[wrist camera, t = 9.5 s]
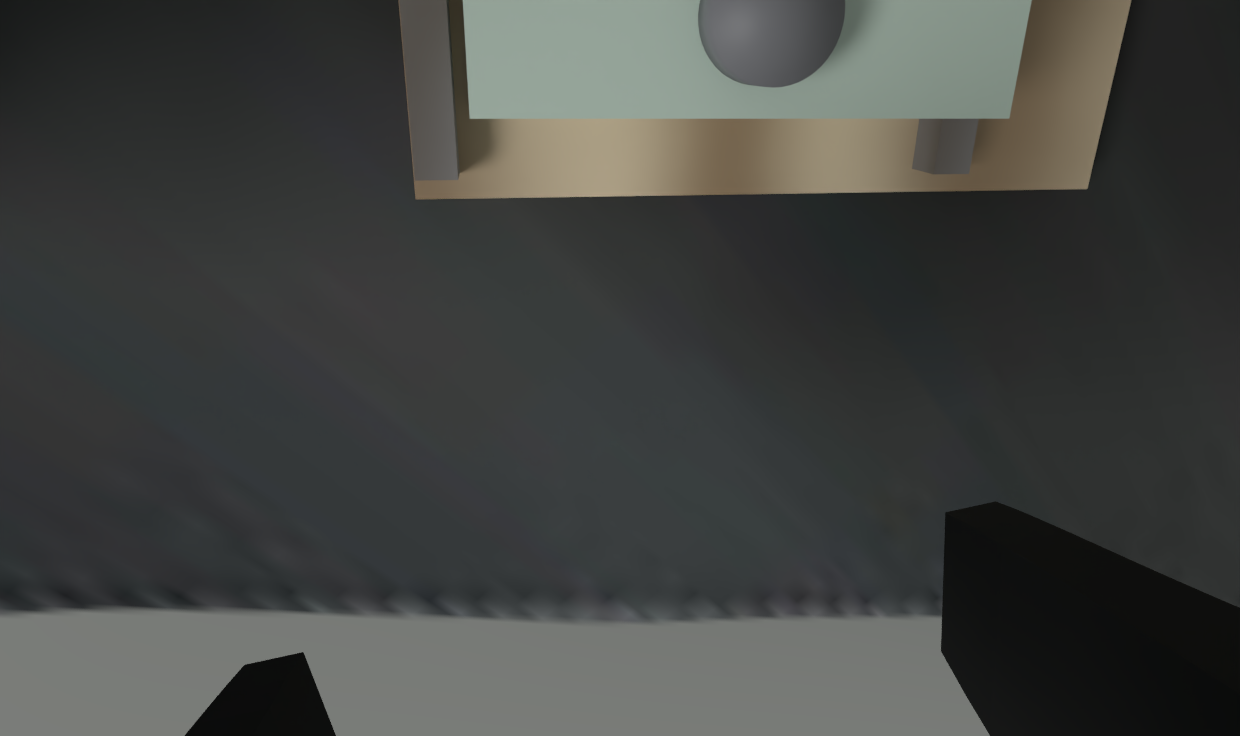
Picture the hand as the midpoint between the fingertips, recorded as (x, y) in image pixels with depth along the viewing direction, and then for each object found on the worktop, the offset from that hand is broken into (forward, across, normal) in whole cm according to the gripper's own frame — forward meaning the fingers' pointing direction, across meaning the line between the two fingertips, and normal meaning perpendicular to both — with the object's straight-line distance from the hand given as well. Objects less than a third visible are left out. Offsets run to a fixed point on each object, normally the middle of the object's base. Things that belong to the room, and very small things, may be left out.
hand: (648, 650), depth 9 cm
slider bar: (+9, -4, -6) cm, 12 cm away
